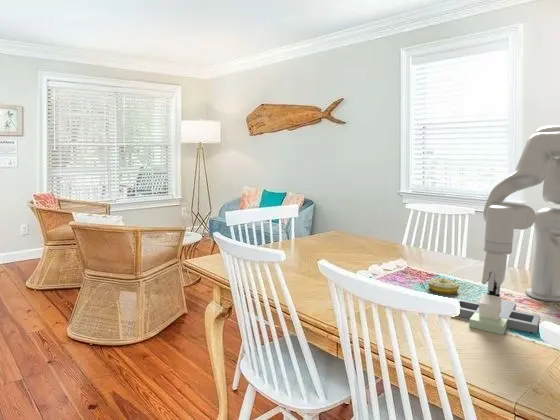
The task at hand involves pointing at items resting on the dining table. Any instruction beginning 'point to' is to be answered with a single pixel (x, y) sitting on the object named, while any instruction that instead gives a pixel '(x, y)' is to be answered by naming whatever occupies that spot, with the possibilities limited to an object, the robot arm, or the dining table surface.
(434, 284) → the decorated donut
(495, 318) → the cream block
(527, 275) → the dining table surface
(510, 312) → the board
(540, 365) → the dining table surface
